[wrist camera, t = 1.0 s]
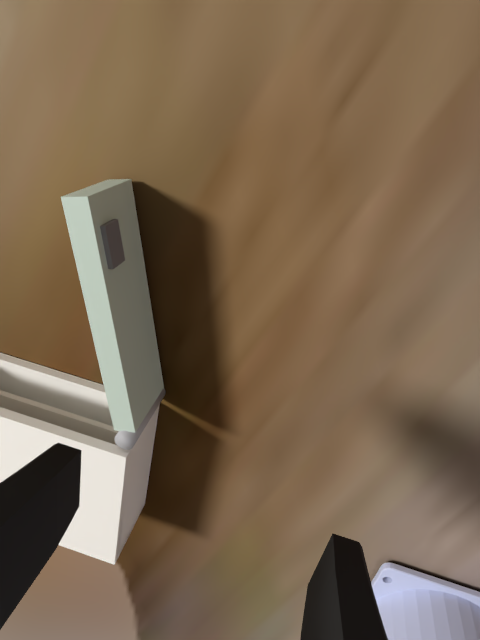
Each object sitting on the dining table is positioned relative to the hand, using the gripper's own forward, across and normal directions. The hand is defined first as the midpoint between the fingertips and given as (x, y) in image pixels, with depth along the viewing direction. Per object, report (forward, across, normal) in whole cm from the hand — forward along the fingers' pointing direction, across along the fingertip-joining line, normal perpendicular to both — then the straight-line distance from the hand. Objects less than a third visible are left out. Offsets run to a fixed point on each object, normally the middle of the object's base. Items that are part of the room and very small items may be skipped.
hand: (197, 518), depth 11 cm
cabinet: (+10, +10, +10) cm, 18 cm away
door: (+10, +6, +1) cm, 12 cm away
